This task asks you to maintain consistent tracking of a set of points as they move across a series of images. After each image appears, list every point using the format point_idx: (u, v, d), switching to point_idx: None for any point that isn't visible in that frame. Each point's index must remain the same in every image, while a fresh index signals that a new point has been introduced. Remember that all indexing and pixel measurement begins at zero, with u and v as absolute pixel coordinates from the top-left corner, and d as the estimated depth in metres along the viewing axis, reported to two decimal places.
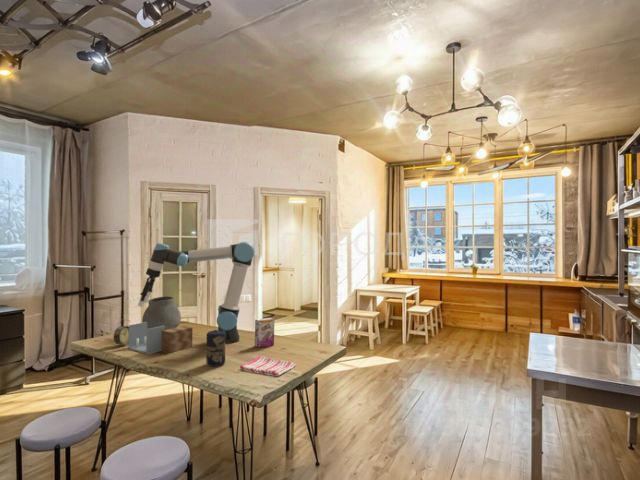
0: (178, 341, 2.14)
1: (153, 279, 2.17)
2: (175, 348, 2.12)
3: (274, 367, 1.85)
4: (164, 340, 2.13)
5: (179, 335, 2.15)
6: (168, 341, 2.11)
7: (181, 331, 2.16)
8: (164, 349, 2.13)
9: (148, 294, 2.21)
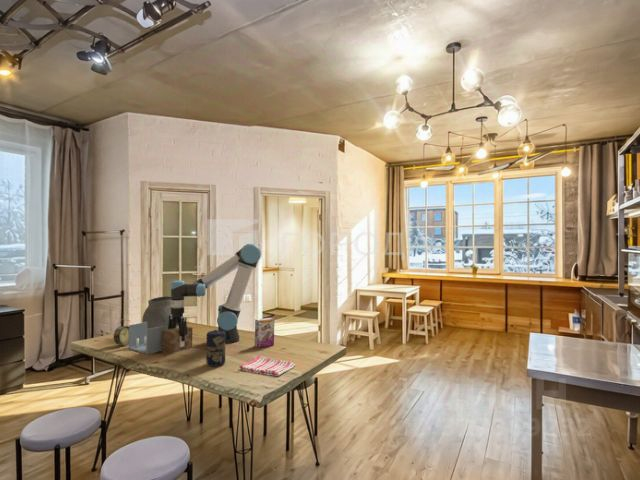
0: (178, 341, 2.14)
1: None
2: (175, 348, 2.12)
3: (274, 367, 1.85)
4: (164, 340, 2.13)
5: (179, 335, 2.15)
6: (168, 341, 2.11)
7: None
8: (164, 348, 2.13)
9: None
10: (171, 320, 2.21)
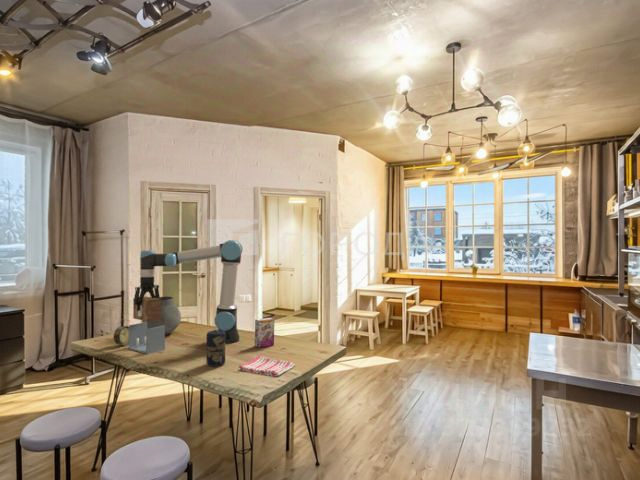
0: None
1: None
2: None
3: (273, 367, 1.85)
4: (151, 309, 2.12)
5: None
6: (157, 308, 2.16)
7: None
8: (153, 317, 2.13)
9: None
10: None
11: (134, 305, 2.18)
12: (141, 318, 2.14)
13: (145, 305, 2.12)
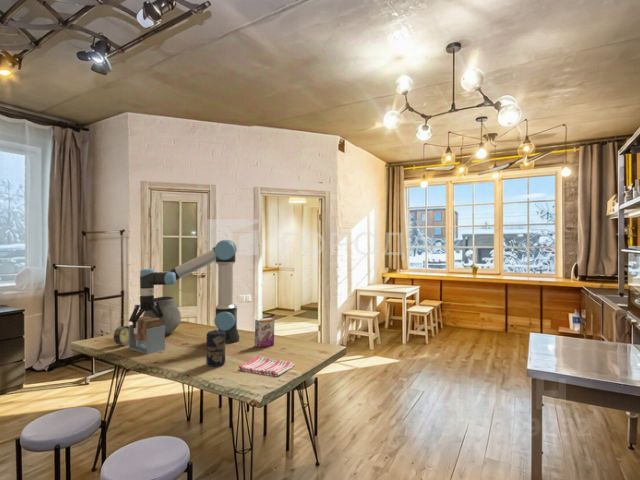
0: None
1: None
2: None
3: (273, 367, 1.85)
4: None
5: None
6: None
7: None
8: None
9: None
10: None
11: None
12: (141, 339, 2.14)
13: (145, 326, 2.12)
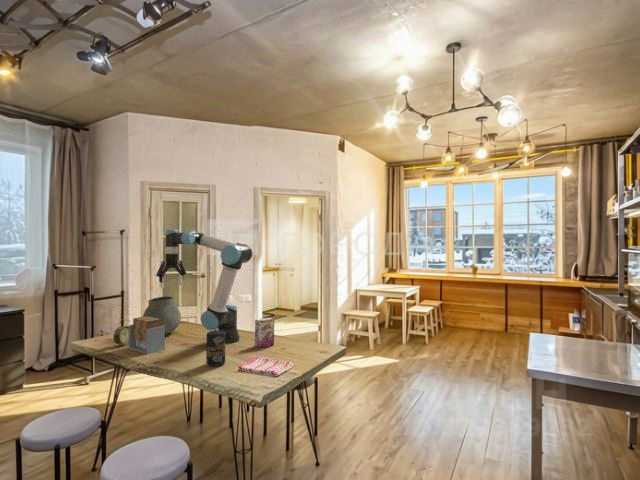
0: None
1: None
2: None
3: (273, 367, 1.85)
4: None
5: None
6: None
7: None
8: None
9: None
10: None
11: (134, 325, 2.18)
12: (141, 339, 2.14)
13: (145, 326, 2.12)
